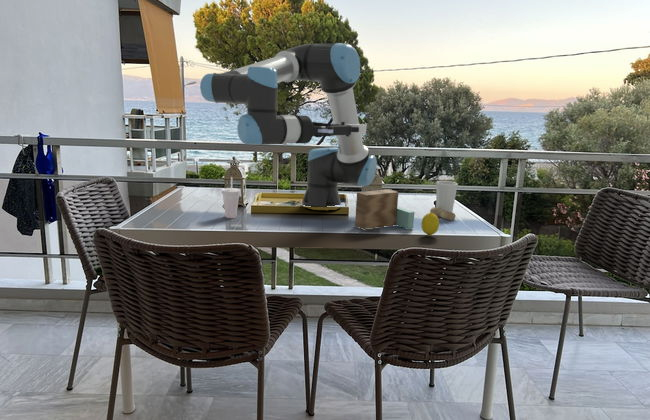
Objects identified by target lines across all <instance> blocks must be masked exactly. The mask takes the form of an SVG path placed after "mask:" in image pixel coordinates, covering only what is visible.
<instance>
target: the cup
mask: <svg viewBox="0 0 650 420" xmlns="http://www.w3.org/2000/svg"><path fill="white" fill-rule="evenodd" d="M435 183H436V186H435V187H436V193H435V197H436V199H435V208H439V209H442V210H445V211H449V212H452V213H454V212H453V211H454V210H453V209H454V205H455V200H456V195H457V190H458V183H457V182H454V181H448V180H438V181H436V182H435Z"/></svg>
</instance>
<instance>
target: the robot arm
mask: <svg viewBox="0 0 650 420" xmlns="http://www.w3.org/2000/svg"><path fill="white" fill-rule="evenodd" d="M360 68H361V60H360V56H359V54H358V52H357V50H356V49H355V47H354V46H352V45H351V44H348V43H342V42H341V43H340V42H336V43H305V44H301V45H296V46H294V47H291V48H288V49H285V50H281V51H279V52H277V53H276V54H275V56H273V57H271V58H268V59H264V60H261V61H258V62H255V63H252V64H248V65H245V66H242V67H238V68H236V69H231V70H228V71H225V72H221V73H218V72H213V73H207V74H205V75H203V77H202V78H201V81H200V83H199V86H200V94H201V96H202V97H203V99H205V101H207V102H211V103H216V104H218V103H221V104H222V103H223V104H237V105H239V104H241V105H247V113H246V114H243V115H241V116H240V117H239V118H238V122H237V125H236V126H237V129H236V130H237V135H238V138H239V140H240V142H241V143H242V144H244V145H258V146H260V145H283V147H286V146H287V145H289V144H299V145H300V144H308V143H310V142H311V141H312V138H313V137H315V138H322V137H333V136H335V137H336V140H337V144H338V147H335V146H333V147H320V148H319V147H318V148H313V149H311V150H309V151H308V158H307V185H306V186H307V187H306V189H305V192H304V194H303V198H302V200H301V201H302V202H301V204H303V205H305V206H311V207H327V206H335V205H340V204H341V205H342V201H341V198H340V195H339V189H338V184H344V185H348V186H349V185H350V186H357V187H368V186H369V185H371V183H372V181H373V180H374V177H375V175H376V171H377V165H378V160H377V157H376V156H375V155H373V154H370V152H369V148H368V147H367V145H364V143H363V138H362V137H363V136H362V135H366V134H367V125H368V124H364V123H362V124H360V121H359V115H358V110H357V105H356V100H355V95H354V90H353V89H354V87H355V86H356V84H357V81H358V79H359V78H360V74H361V69H360ZM293 81H303V82H304V81H305V82H319V85H320V90H321V91H322V92H323V93H324V94H326V96H327V100H328V104H329V108H330V113H331V117H332V123H324V122H316V121H312V118H311V117H309V116H308V115H297V114H296V115H293V114H290V115H289V114H278V113H277V112H278V111H277V110H278V109H277V108H278V87H279V86H278V84H279V83H281V82H285V83H290V82H293ZM277 114H278V115H277Z"/></svg>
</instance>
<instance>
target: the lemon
mask: <svg viewBox="0 0 650 420" xmlns="http://www.w3.org/2000/svg"><path fill="white" fill-rule="evenodd" d="M420 226H421V229H422V232H424V234H426V235H427V236H428V237H431V236H432V235H434V234H436V233H437V232H438V231H439V227H440V220H439V217H438V216H436V215H435V214H433V213H432V212H430V211H429V212H428V213H427V214H425V215H424V216H423V218H422V219H421V225H420Z"/></svg>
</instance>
